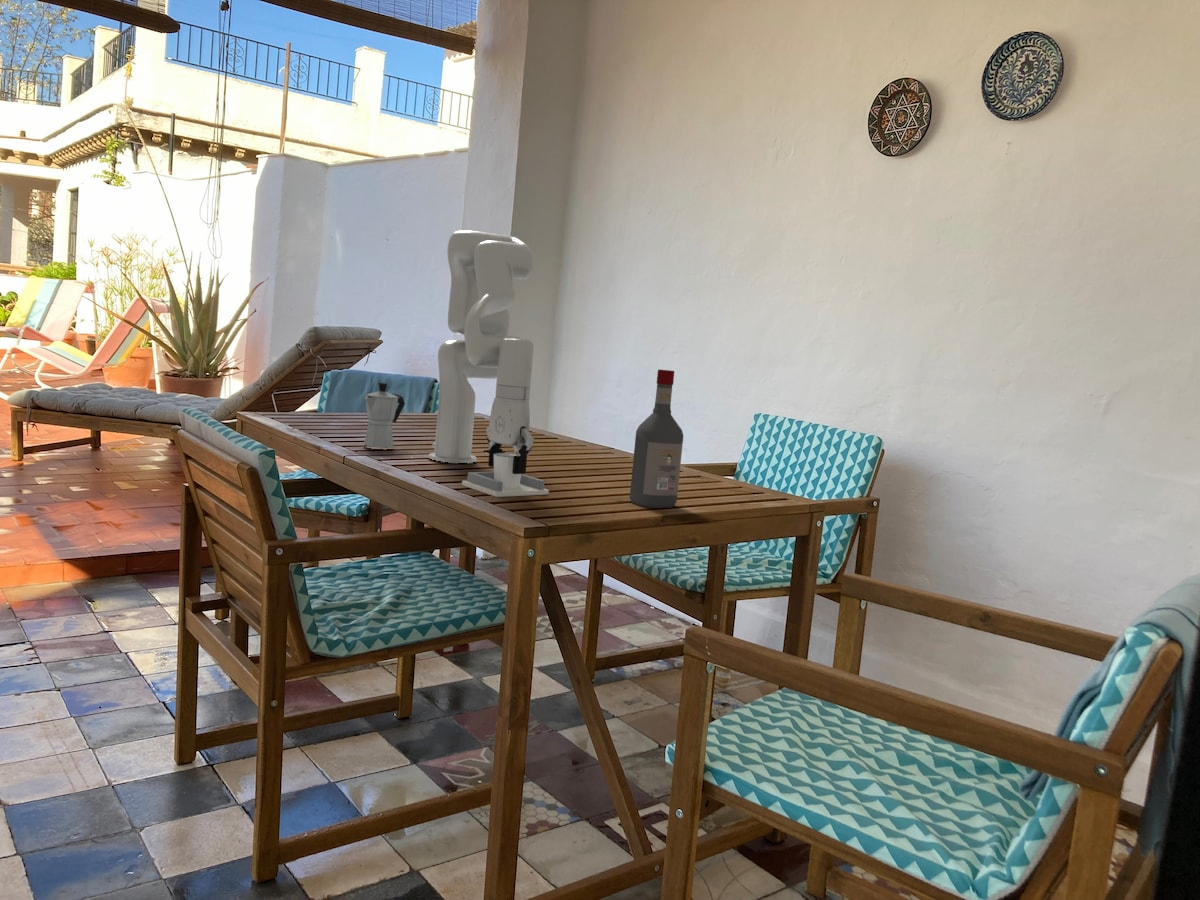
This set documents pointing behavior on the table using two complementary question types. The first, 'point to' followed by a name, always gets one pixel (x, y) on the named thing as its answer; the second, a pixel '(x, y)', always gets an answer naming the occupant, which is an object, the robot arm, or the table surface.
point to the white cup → (505, 470)
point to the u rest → (494, 487)
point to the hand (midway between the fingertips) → (506, 469)
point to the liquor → (657, 452)
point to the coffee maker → (382, 416)
